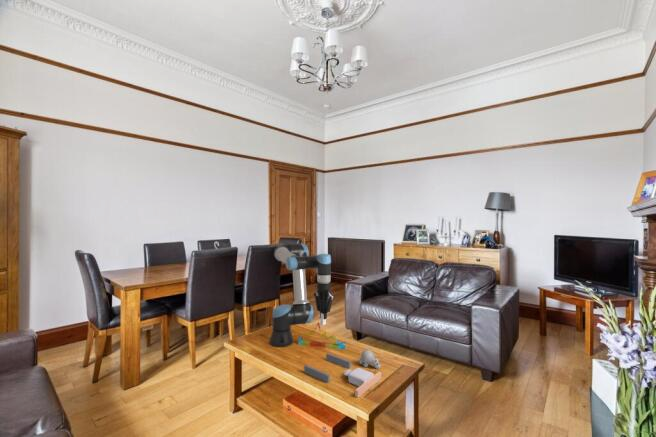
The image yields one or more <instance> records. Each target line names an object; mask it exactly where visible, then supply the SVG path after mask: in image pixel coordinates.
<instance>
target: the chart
mask: <svg viewBox="0 0 656 437" xmlns="http://www.w3.org/2000/svg"><path fill="white" fill-rule="evenodd" d="M317 327H318V330H319V333H320V334H319V335H320V337H321V338H322V337H323V336H325V335H326V337H327V338H328V339H331V338H333V339H334V341H335V343H331V342H330V343H328V342H319V341H311V340H304V338H305V337H306V335H307V334H308V335H310V334H314V333H315V332H316V329H317ZM297 339H298V343H297V345H298V346H309V347H318V348H327V349H336V350H337V349H338V350H346V348H347V346H346V340H344V341H338V339H337V338H336V335H335V334H332V335H331V336H330V335H329V333H328V332H326V331H325V332H324V333H322V329H321V324H320V323H319V321H318V322H317V324H316V326H315V328H314V330H313V331H310V330H307V331H306V332H305V334H304V335H303V337H301V336H299V337H298V338H297Z"/></svg>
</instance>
